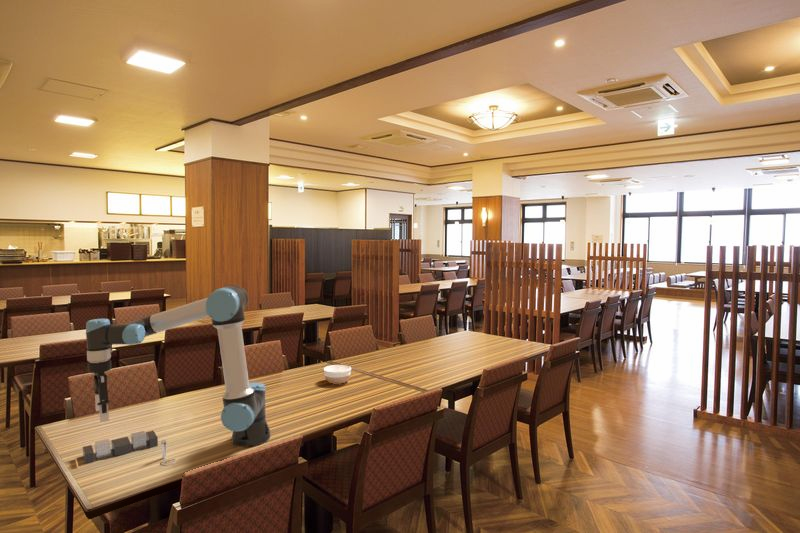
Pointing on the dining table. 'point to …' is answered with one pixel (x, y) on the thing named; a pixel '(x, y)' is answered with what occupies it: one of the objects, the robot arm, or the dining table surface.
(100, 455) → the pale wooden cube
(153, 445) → the rail
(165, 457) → the stand
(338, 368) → the bowl
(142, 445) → the light grey cube
